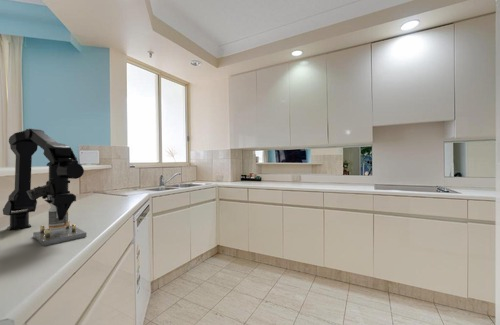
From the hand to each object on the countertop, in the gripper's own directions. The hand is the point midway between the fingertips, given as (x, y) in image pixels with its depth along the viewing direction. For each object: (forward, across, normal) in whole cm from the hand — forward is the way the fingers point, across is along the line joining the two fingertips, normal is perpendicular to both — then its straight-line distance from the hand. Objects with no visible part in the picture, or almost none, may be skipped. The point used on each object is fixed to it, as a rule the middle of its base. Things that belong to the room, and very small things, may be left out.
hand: (58, 218), depth 84 cm
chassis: (+6, +2, 0) cm, 7 cm away
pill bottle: (+4, 0, 0) cm, 4 cm away
